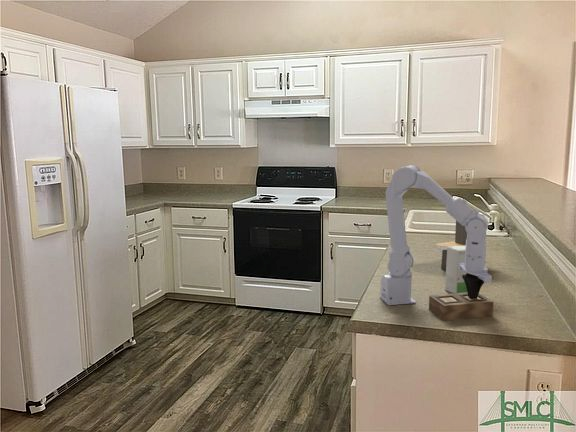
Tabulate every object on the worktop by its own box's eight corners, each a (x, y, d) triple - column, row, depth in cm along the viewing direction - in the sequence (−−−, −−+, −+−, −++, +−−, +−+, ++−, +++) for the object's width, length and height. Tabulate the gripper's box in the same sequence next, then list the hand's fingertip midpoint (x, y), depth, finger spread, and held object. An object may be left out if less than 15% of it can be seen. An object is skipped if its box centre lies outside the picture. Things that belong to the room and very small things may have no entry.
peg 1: (445, 316, 143) (445, 302, 143) (438, 311, 147) (439, 298, 146) (457, 314, 144) (458, 301, 143) (450, 310, 148) (451, 297, 147)
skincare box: (455, 295, 162) (457, 250, 159) (443, 289, 168) (445, 246, 165) (476, 293, 164) (478, 248, 161) (463, 287, 170) (466, 244, 167)
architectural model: (449, 284, 174) (451, 231, 171) (402, 267, 196) (404, 220, 193) (519, 269, 192) (523, 221, 188) (470, 255, 214) (472, 212, 210)
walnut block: (443, 320, 141) (444, 305, 140) (428, 309, 149) (429, 294, 148) (492, 315, 144) (493, 300, 143) (475, 305, 152) (476, 291, 151)
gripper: (502, 260, 138) (499, 305, 140) (473, 248, 152) (471, 289, 154) (480, 262, 136) (477, 307, 139) (453, 250, 150) (451, 291, 153)
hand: (472, 298), depth 146 cm, fingers closed, pressing on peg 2
